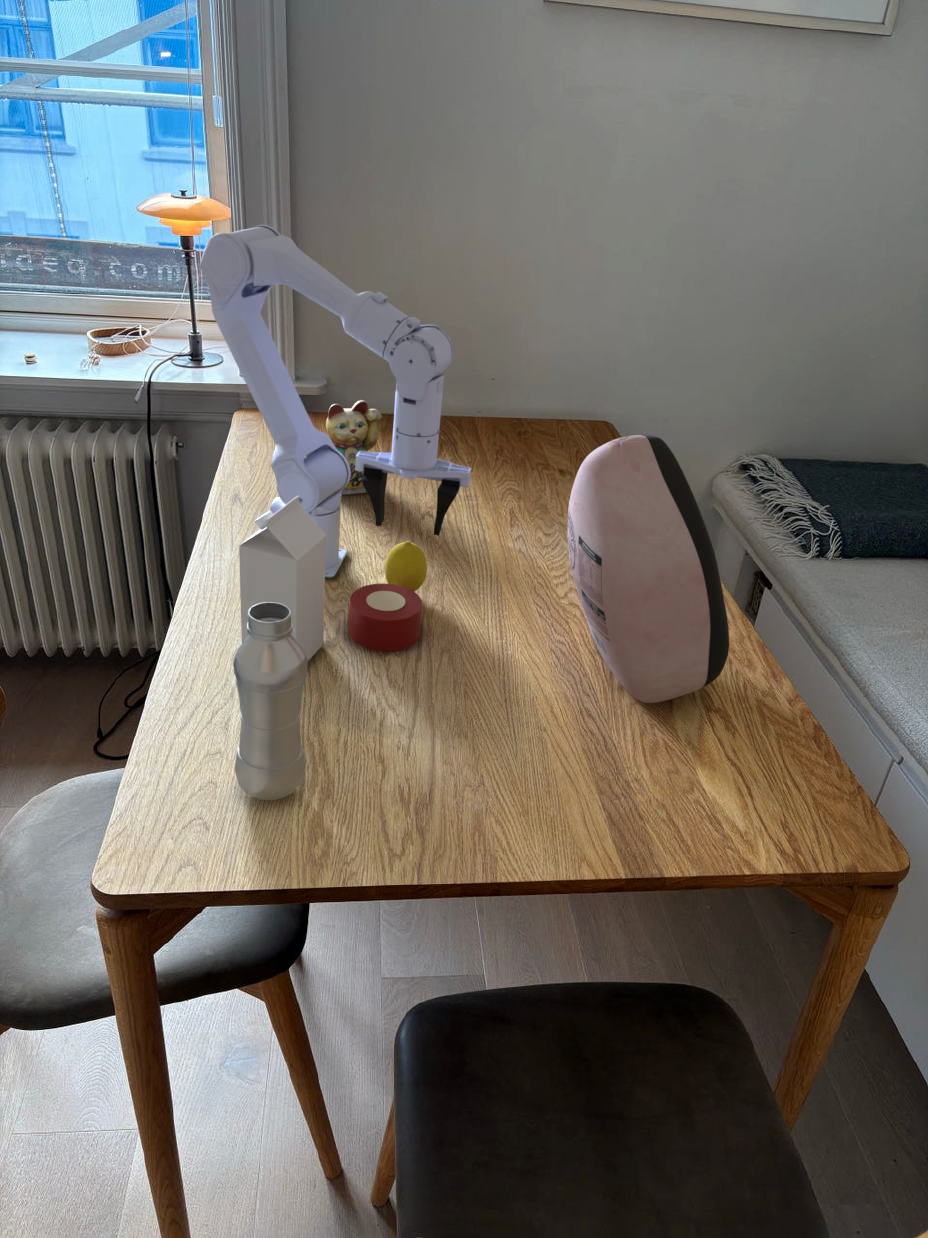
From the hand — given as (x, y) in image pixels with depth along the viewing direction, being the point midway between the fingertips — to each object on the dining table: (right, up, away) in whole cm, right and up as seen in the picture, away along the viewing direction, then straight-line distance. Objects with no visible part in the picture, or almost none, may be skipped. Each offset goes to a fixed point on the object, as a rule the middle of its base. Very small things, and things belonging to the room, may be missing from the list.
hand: (408, 527), depth 124 cm
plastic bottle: (-12, -29, -31) cm, 44 cm away
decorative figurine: (-12, +10, +32) cm, 36 cm away
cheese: (-3, -14, -5) cm, 15 cm away
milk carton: (-14, -16, -11) cm, 24 cm away
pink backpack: (+27, -19, -7) cm, 34 cm away
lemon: (-1, -9, +3) cm, 10 cm away
